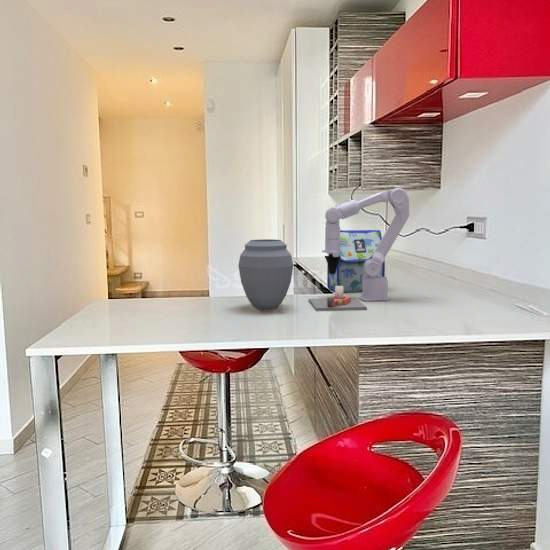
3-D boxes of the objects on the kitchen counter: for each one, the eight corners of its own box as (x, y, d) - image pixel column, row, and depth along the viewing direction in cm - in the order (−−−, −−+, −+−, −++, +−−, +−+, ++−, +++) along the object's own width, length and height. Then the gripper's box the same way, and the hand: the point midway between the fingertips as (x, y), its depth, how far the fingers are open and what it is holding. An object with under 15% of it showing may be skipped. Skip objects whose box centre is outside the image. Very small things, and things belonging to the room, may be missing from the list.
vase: (301, 305, 196) (301, 239, 193) (279, 315, 178) (279, 242, 175) (254, 302, 204) (253, 238, 201) (228, 311, 186) (227, 241, 183)
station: (354, 300, 206) (355, 282, 205) (366, 309, 187) (367, 290, 186) (308, 301, 205) (308, 283, 204) (316, 310, 186) (316, 291, 185)
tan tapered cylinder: (341, 305, 191) (341, 299, 191) (342, 306, 189) (342, 300, 189) (336, 305, 191) (337, 299, 191) (337, 306, 189) (337, 300, 189)
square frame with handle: (333, 299, 200) (333, 292, 200) (350, 301, 198) (351, 293, 197) (320, 306, 188) (320, 297, 188) (338, 307, 185) (338, 299, 185)
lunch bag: (338, 294, 220) (338, 231, 217) (325, 288, 236) (325, 229, 233) (387, 292, 225) (389, 230, 222) (371, 286, 241) (372, 228, 238)
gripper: (319, 238, 214) (319, 271, 216) (325, 240, 199) (325, 276, 201) (336, 237, 214) (336, 271, 216) (344, 240, 200) (343, 276, 202)
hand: (332, 273), depth 209 cm, fingers closed
